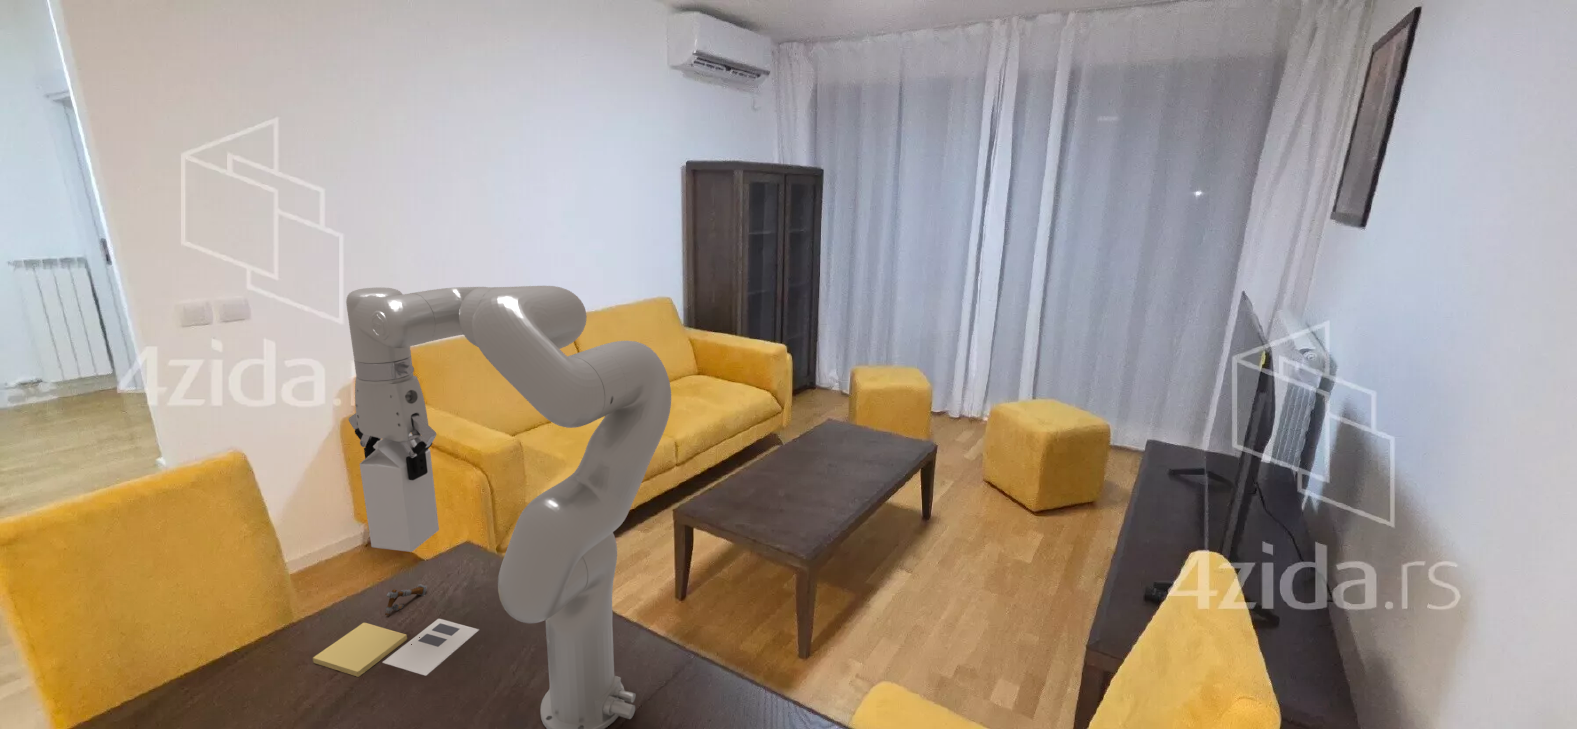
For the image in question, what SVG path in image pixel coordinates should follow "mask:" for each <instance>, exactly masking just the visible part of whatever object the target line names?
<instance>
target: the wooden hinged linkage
mask: <svg viewBox="0 0 1577 729" xmlns="http://www.w3.org/2000/svg"><path fill="white" fill-rule="evenodd" d="M427 588H428V586H427V585H423V584H421V583H420V584H417V587H415V588H412V589H401V590H400V591H398V590H397V589H395V588H394V589H392V590H391V591H388V593H387V594H386V597H387V598H388V599H389V600H388V603H387V606H386V608H385V613H384V615H385V616H390V615H391V613H392V611H399V610H403V608H404V607H405V605H404V603H397V604H396V603H395V602H396V601H397V600H398V599H399V598H400V597H402V598H404V597H409V596H412V595H419V596H422V597H423V596H426V592H427Z"/></svg>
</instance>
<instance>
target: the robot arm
mask: <svg viewBox="0 0 1577 729" xmlns="http://www.w3.org/2000/svg"><path fill="white" fill-rule="evenodd" d="M345 303H346V311H347V318H348V327H349V332H350V340H351V346H352V352H353V362H354V370H355V376H356V377H355V383H354V384H355V386H354V404H355V406H354V407H355V413H353V414H352V415H351V416H350V417H349V418H348V422H349V423H350V425H351V427H352V428H353V430H354V434H355V435H356V437H357V438H358V439H359V440H360V441H359V444H360V446H361V447H362V448H363V453H364V459H366V458H367V457H368V456H369V455H370V454H371V453H373V452H374V451H375V450H376V449H375V448H374V447H373V446H374V445H375V444H376V442H377V441H379V440H381V439H386V440H391V441H396V442H401V443H402V445H403V446H404V448H405V450H406V451H407V453H408V455H409V456H408V457H406V464H407V470H408V478H409V480H415V479H417V478H419V477H421V476H423V475H425V474H427V472H428V471H427V462H426V453H425V452H427V451H428V449H430V447H431V446H432V445H433V442H434V440H435V439H436V437H437V432H436V431H435V430H434V428H432V427H431V426H430V425H429V420H428V419H429V418H428V413H427V407H426V402H425V398H424V394H423V391H422V387H421V384H420V382H419V379H418V376H417V375H414V371H415V368H414V366H413V361H412V353H411V352H412V351H411V347H413V346H414V347H415V346H417V345H421V344H426V343H430V342H434V341H439V340H442V339H447V338H451V337H457V336H464V338H465V339H466V340H467V341H468V342H469V343H471V344H472V345H473V346H475V347H477V348H478V349H479V350H480V352H481V354H482V355H483V356H484V357H485V359H487V361H488V362H489V363H490V364H491V365H492V366H493V368H495V369H496V371H497V372H498V373H499V374H500V375H501V376H502V377H504V379H505V380H506V381H507V382H508V383H509V384H510V386H511V385H512V387H513V388H514V389H515V390H516V391H517V392H518V393H519V394H520V395H521V396H523V398H524V399H525V400H526V401H528V403H529V404H530V405H531V406H532V407H533V408H534V409H535V410H536V411H537V412H538V413H539V414H541V416H543V417H544V418H545V419H547V420H548V421H549V422H551V423H553V425H557V426H560V427H563V428H566V429H571V428H574V429H575V428H580V427H583V426H586V425H588V424H591V423H593V422H595V421H597V420H599V419H601V418H602V420H601V422H600V423H599V425H598V426H597V427H596V428H595V430H594V431H593V433H592V435H591V436H590V439H589V441H588V442H587V445H586V448H585V452H584V454H583V455H582V457H581V460H580V462H579V464H578V466H577V468H576V469H575V471H574V472H573V473H572V474H570V476H568V477H567V478H565V479H563V480H562V481H560V482H558V483H557V484H555V485H553V486H552V487H551V488H550V487H549V489H547V490H545V491H543V492H542V493H540V494H538V495H537V496H536V497H535V498H534V499H532V500H531V501H530V502H529V503H528V504H527V505H526V506H525V507H524V508H523V510H522V512H521V513H520V515H519V517H518V519H517V521H516V523H515V526H514V529H513V531H512V534H511V537H510V539H509V543H508V545H507V548H506V551H505V555H504V556H503V560H502V562H501V565H500V568H499V572H498V576H497V592H498V597H499V600H500V603H501V606H502V607H503V609H504V610H505V611H506V613H507V614H508V615H509V616H510V617H511V618H513V619H514V620H515V621H517V622H521V623H524V624H537V623H542V622H543V621H545V635H546V647H547V648H546V650H547V651H546V652H547V663H548V666H547V667H548V681H549V689H548V691H547V692H545V695H544V696H543V698H542V700H541V703H540V719H541V721H542V725H543V726H544V727H545V728H546V729H606V728H608V726H609V727H610V725H611V724H613V723H614V722H615V721H616V720H617V719H618V718H619V717H620V718H625V719H627V720H631V719H632V718H633V716H634V715H635V711H636V705H635V704H633V703H634V702H635V700H636V693H634V692H632V691H628V690H627V691H626V690H625V688H624V685H623V683H622V682H621V681H622V680H621V679H622V678H621V677H620V676H617V675H615V662H614V660H615V659H614V658H615V657H614V655H615V654H614V631H613V630H614V629H613V627H614V625H613V616H614V615H613V588H614V587H613V586H614V578H615V573H616V568H617V560H618V546H617V540H616V537H615V534H614V532H615V531H616V530H617V529H619V527H621V525H622V524H623V522H625V521H626V518H627V516H628V514H629V512H630V510H631V508H632V505H633V503H634V500H635V498H636V496H637V494H638V491H639V490H640V487H641V485H642V483H643V480H644V478H645V475H646V472H647V471H648V467H649V465H650V464H651V463H650V462H651V461H652V458H654V457H653V456H654V454H655V452H656V450H657V448H658V447H659V443H660V441H661V439H662V437H663V435H664V432H665V431H666V430H665V429H666V427H667V425H668V421H669V416H670V413H671V407H672V389H671V387H672V386H671V383H670V379H669V376H668V372H667V369H666V367H665V365H664V363H663V362H662V360H661V358H660V357H659V356H658V354H657V353H656V352H655V351H654V350H653V349H652V348H651V347H649V346H648V345H646V344H644V343H641V342H639V341H635V340H617V341H612V342H608V343H605V344H601V345H598V346H595V347H592V348H589V349H585V350H583V351H580V352H577V353H574V354H573V353H572V354H570V355H568V356H567V355H566V354H565V353H564V352H563V351H562V350H561V349H563V348H566V347H567V346H569V345H571V344H572V343H574V342H575V341H577V340H578V338H579V337H580V336H581V335H582V333H583V332H584V330H585V327H586V324H587V316H588V315H587V312H586V307H585V305H584V303H583V302H582V300H581V299H580V298H579V296H578V295H576V294H575V293H574V292H572V291H570V290H568V289H567V288H563V287H560V286H555V285H529V286H528V285H522V286H519V285H518V286H494V287H488V286H466V287H465V286H462V287H461V286H460V287H446V288H437V289H430V290H429V289H427V290H422V291H417V292H410V293H404V294H403V293H402V292H401V291H400V290H398V289H396V288H391V287H364V288H359V289H358V288H357V289H355V290H352V291H351V292H349V293H348V295H347V297H346V301H345ZM410 433H411V434H412V436H410V437H409V434H410ZM412 440H415V442H416V443H417V445H416V446H415V447H413V445H412V443H411V442H410V441H412Z"/></svg>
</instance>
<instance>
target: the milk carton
mask: <svg viewBox="0 0 1577 729" xmlns="http://www.w3.org/2000/svg"><path fill="white" fill-rule="evenodd" d="M410 436H412V433H410V434H409V437H410ZM410 442H411V443H412V445H413V447H415V446H416V445H417V443H416V442H415V440H412V441H410ZM373 447H374V448H375V449H376V450H375V451H374V452H373V453H371V454H370V455H369V456H368V457H367V458H366V459H365V458H364V459H363V460H362V461H361V462H360V463H359V470H360V477H361V483H362V484H361V485H362V490H363V496H364V498H363V499H364V504H365V510H366V520H367V525H368V531H369V533H368V534H369V539H370V546H371V548H373V549H374V548H375V549H383V550H393V551H399V552H400V551H401V552H408V553H409V552H410V553H412V552H413V551H415V550H416V549H418V548H419V547H420V546H421V545H422V544H424V543H425V542H426V541H428V540H429V539H430V538H431V537H432V536H434V534H436V533H437V532H439V530H440V526H439V518H438V508H437V501H436V500H437V498H436V491H435V490H436V489H435V482H434V474H433V465H432V464H433V462H432V455H431V449H430V448H428V451H427V452H425V453H426V462H427V471H428V472H427V474H425V475H423V476H421V477H419V478H417V479H415V480H409V478H408V470H407V464H406V457H408V456H409V455H408V453H407V451H406V450H405V448H404V446H403V445H402V443H401V442H396V441H391V440H386V439H381V440H379V441H377V442H376V444H375V445H374V446H373Z"/></svg>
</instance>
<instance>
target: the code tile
mask: <svg viewBox="0 0 1577 729" xmlns="http://www.w3.org/2000/svg"><path fill="white" fill-rule="evenodd" d="M479 631H480V629H479V628H475V627H471V626H467V625H464V624H460V623H457V622H453V621H450V620H446V619H443V618H437V619H436V620H435V621H433V622H432V623H431V624H429V625H428V626H427V627H426V628H424V629H423V630H422V631H421V632H419V633H418V634H417V635H415V636H414V637H413V638H412V639H410V640H409V641H408V642H406V643H405V644H404V645H402V646H401V647H400V648H398V650H396V651H395V652H393V653H392V654H391V655H390V656H388V657H387V658H385V660H383V661H382V664H385V665H389V666H390V667H391V666H392V667H395V668H398V669H402V670H405V671H407V672H408V671H409V672H412V673H415V674H419V675H421V676H424V677H426V676H429V674H430V673H432V671H434V670H435V669H436V668H437V667H438V666H440V665H441V664H442V663H443V662H444V661H446V659H447V658H449V657H450V656H451V655H452V654H454V653H455V652H456V651H457V650H458V649H459V648H461V646H463V644H465V643H466V642H467V641H469V639H471V638H472V637H473V636H474V635H476V634H477V632H479ZM419 637H420V638H419ZM411 644H412V645H411Z"/></svg>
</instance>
